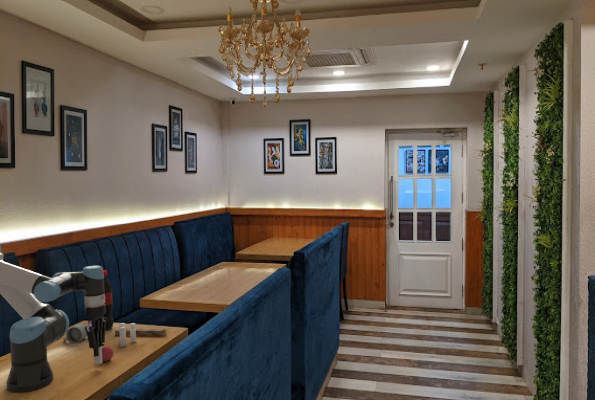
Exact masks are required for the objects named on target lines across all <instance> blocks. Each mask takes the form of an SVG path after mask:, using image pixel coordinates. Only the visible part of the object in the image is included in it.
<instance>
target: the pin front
mask: <svg viewBox="0 0 595 400" xmlns="http://www.w3.org/2000/svg"><path fill="white" fill-rule="evenodd" d="M126 329H127V328H126V326H125V327H120V336H119V343H120V347H121V348H125V347H126V346H127V336H126ZM124 346H125V347H124Z"/></svg>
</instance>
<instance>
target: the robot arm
mask: <svg viewBox="0 0 595 400" xmlns="http://www.w3.org/2000/svg"><path fill="white" fill-rule="evenodd" d="M103 270H104V268H103V266H101V265H89V266H88V265H87V266H85V267H83V268H82V271H72V272H71V271H68V272H67V271H62V272H56V273H54V274H53V276H52V277H49V276H46V275H43V274H40V273H38V272H34V271H32V270H30V269H25V268H23V267H22V266H21V267H20V266H18V265H14V264H13V263H12V264H11V263H9V262H6V261H4V253H3V252H2V245H1V243H0V295H1V296H2V298H3V299H5V301H6V302H7V303H8V304H9V305H10V306H11V308H13V309H14V310H15V312H17V314H18V315H19V316H20V317H21V318H22V319H20V320H19V321H18V320H17V321H16V322H15V323H13V324H12V326H11V327H10V330H9V337H8V338H9V343H10V345H9V346H10V364H11V366H10V370H9V373H8V376H7V380H6V390H7V391H8V392H10V393H26V392H31V391H32V392H33V391H36V390H38V389H42V388H44V387H46V386H48V385H50V384H51V383H52V382H53V381H54V372H53V370H52V368H51V365H50V363H49V361H48V347H50V346H51V345H52V344H54V343H56V342H57V341H59V340H61V338H63V337H65V336H66V333H67V331H68V329H69V328H70V320H69V317H68V315H67V314H66V313H65V312H64V310H61V309H54V307H53V306H51V304H49V302H53V301H55V300H57V299H58V298H61V297H62V296H64V295H66V294H68V293H70V292H71V293H72V292H82V291H83V297H84V314H85V317H88V322H87V326H88V327H85V331H86V333H87V336H86V338H87V342H88V346H89V349H92V351H93V363H94V365H98V364H99V365H100V364H103V361H102V347H104V346H105V341H106V331H107V330H106V321H107V318H104V317H103V315H104V314H105V313H106V307H105V304H104V303H105V291H104V273H103Z"/></svg>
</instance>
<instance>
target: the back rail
mask: <svg viewBox="0 0 595 400" xmlns="http://www.w3.org/2000/svg"><path fill="white" fill-rule="evenodd" d="M166 330H167V329H166V328H136V337H141V336H142V337H146V336H147V337H152V336H153V337H164V336H165V335H166V334H167V332H166ZM115 335H120V330H119V328H116V329H115V330H114V336H115ZM126 335H130V328H126Z"/></svg>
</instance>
